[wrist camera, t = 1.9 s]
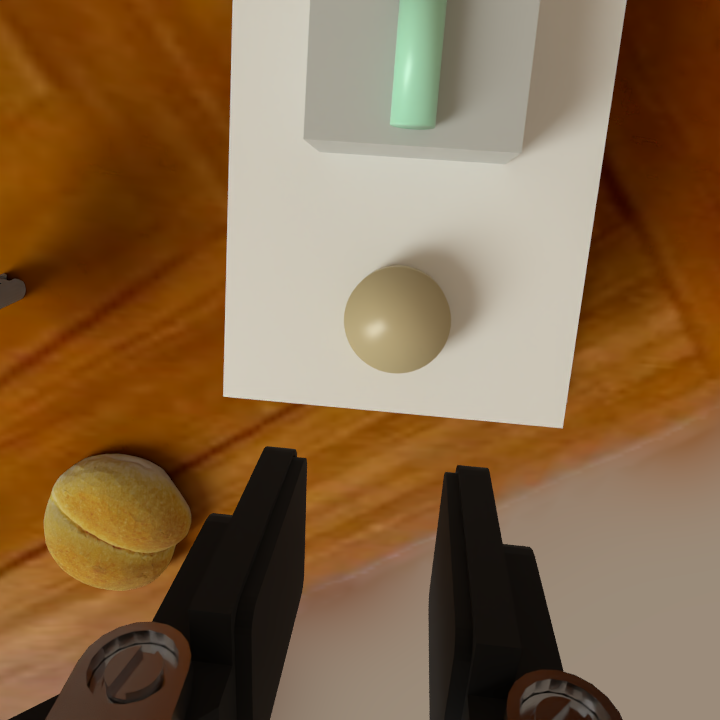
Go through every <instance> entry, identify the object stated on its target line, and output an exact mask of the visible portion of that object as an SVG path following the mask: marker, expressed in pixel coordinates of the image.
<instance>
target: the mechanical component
mask: <svg viewBox="0 0 720 720" xmlns="http://www.w3.org/2000/svg"><path fill="white" fill-rule="evenodd" d="M6 279H7V275H6V274H5V273H4V274H1V275H0V309H1V308H3V307H5V306H8V305H10V304H12V303H14V302H16V301H18V300H20V299H22V298H23V297H24V295H25V293H26V288H25V284H24V282H23V281H21V280H19V279H12V280H10V281H8V280H6Z"/></svg>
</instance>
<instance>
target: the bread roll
mask: <svg viewBox="0 0 720 720" xmlns="http://www.w3.org/2000/svg"><path fill="white" fill-rule="evenodd" d="M190 525H191V512H190V508H189V506H188V504H187V503H186V501H185V499H184V498H183V496H182V495H181V493H180V492H179V490H178V489H177V487H176V486H175V485H174V483H173V482H172V480H171V479H170V477H169V476H168V475H167V473H166V472H165V471H164V470H163V469H162V468H160V467H159V466H157V465H155V464H154V463H152V462H150V461H148V460H145V459H142V458H139V457H135V456H130V455H126V454H102V455H96V456H91V457H88V458H86V459H84V460H81V461H80V462H78V463H77V464H75V465H74V466H72V467H71V468H70V469H68V470H67V471H66V472H64V473H63V474H62V475H61V476H60V477H59V479H58V480H57V482H56V483H55V485H54V487H53V489H52V493H51V496H50V499H49V501H48V504H47V508H46V511H45V518H44V531H45V538H46V545H47V547H48V549H49V552H50V553H51V555H52V556H53V558H54V559H55V561H56V562H57V564H58V565H59V566H60V567H61V569H62V570H64V571H65V572H66V573H68V574H69V575H71V576H72V577H74V578H75V579H77V580H79V581H81V582H82V583H85V584H88V585H90V586H93V587H96V588H102V589H108V590H117V591H123V590H130V589H135V588H139V587H142V586H145V585H147V584H149V583H151V582H152V581H154V580H155V579H156V578H157V577H159V576H160V575H161V573H162V572H163V571H164V570H165V569H166V568H167V566H168V564H169V563H170V561H171V558H172V556H173V553H174V549H175V546H176V544H177V543H179V542H180V541H181V540H183V539H184V538H185V537H186V535H187V534H188V532H189V528H190Z"/></svg>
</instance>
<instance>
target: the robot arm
mask: <svg viewBox="0 0 720 720" xmlns="http://www.w3.org/2000/svg"><path fill="white" fill-rule="evenodd" d="M306 482H307V459H306V458H299V457H297V452H296V449H288V448H278V447H268V446H267V447H265V448H264V450H263V452H262V454H261V456H260V458H259V460H258V463H257V465H256V467H255V469H254V471H253V473H252V475H251V477H250V480H249V482H248V484H247V486H246V488H245V490H244V492H243V494H242V497H241V499H240V501H239V503H238V505H237V507H236V509H235V511H234V513H233V515H225V514H216V513H212V514H211V515H209V517H208V518H207V519H206V521H205V523H204V525H203V527H202V529H201V530H200V532H199V534H198V536H197V538H196V540H195V542H194V544H193V546H192V547H191V549H190V551H189V553H188V555H187V557H186V559H185V561H184V562H183V564H182V566H181V568H180V570H179V572H178V574H177V576H176V578H175V579H174V581H173V583H172V585H171V587H170V589H169V591H168V593H167V594H166V596H165V598H164V600H163V602H162V604H161V606H160V608H159V610H158V611H157V613H156V615H155V617H154V619H153V621H152V622H136V623H133V624H129V625H125V626H122V627H119V628H117V629H115V630H113V631H111V632H109V633H107V634H105V635H103V636H102V637H100V638H99V639H98V640H97V641H95V642H94V643H93V644H92V645H90V646H89V647H88V649H87V650H86V651H85V653H84V654H83V655H82V656H81V658H80V659H79V660H78V662H77V664H76V666H75V667H74V669H73V671H72V673H71V675H70V676H69V678H68V680H67V682H66V684H65V685H64V687H63V689H62V691H61V692H60V694H59V695H57V696H55V697H53V698H51V699H49V700H47V701H45V702H43V703H41V704H39V705H37V706H35V707H33V708H31V709H29V710H27V711H25V712H23V713H21V714H19V715H17V716H15V717H13V718H11V719H9V720H270V717H271V713H272V709H273V705H274V701H275V697H276V693H277V689H278V685H279V681H280V677H281V673H282V670H283V666H284V662H285V658H286V654H287V649H288V646H289V642H290V638H291V634H292V630H293V626H294V622H295V618H296V614H297V610H298V606H299V602H300V598H301V594H302V588H303V581H304V559H305V520H306ZM429 689H430V690H429V693H430V695H429V697H430V720H623V719H622V717H621V715H620V713H619V711H618V710H617V709H616V707H615V706H614V705H613V703H612V702H611V701H610V700H609V698H608V697H607V696H606V695H605V694H603V693H602V692H601V691H600V690H599V689H597V688H596V687H595V686H594V685H593V684H591V683H589V682H587V681H585V680H583V679H582V678H579V677H578V676H576V675H573V674H570V673H566V672H563V668H562V663H561V659H560V656H559V652H558V647H557V644H556V639H555V635H554V632H553V627H552V624H551V619H550V615H549V612H548V608H547V604H546V600H545V596H544V591H543V587H542V583H541V580H540V575H539V571H538V567H537V563H536V559H535V556H534V553H533V550H532V549H531V548H530V547H525V546H516V545H507V544H503V543H502V538H501V532H500V527H499V522H498V516H497V511H496V505H495V500H494V494H493V489H492V483H491V478H490V472H489V469H488V468H481V467H471V466H461V465H457V468H456V473H450V472H445V474H444V480H443V488H442V496H441V504H440V512H439V520H438V528H437V536H436V544H435V551H434V559H433V567H432V575H431V583H430V592H429Z"/></svg>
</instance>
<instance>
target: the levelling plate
mask: <svg viewBox="0 0 720 720" xmlns="http://www.w3.org/2000/svg"><path fill="white" fill-rule="evenodd" d="M626 1H627V0H233V12H232V54H231V95H230V137H229V179H228V221H227V263H226V304H225V346H224V388H223V397H234V398H245V399H256V400H266V401H277V402H288V403H298V404H309V405H320V406H331V407H341V408H352V409H363V410H373V411H384V412H395V413H406V414H416V415H427V416H438V417H449V418H459V419H470V420H481V421H491V422H502V423H513V424H524V425H534V426H545V427H556V428H563V422H564V416H565V409H566V402H567V396H568V389H569V382H570V376H571V369H572V362H573V356H574V349H575V342H576V336H577V329H578V322H579V315H580V309H581V302H582V295H583V289H584V282H585V275H586V269H587V262H588V255H589V249H590V242H591V235H592V229H593V222H594V215H595V209H596V202H597V195H598V189H599V182H600V175H601V168H602V162H603V155H604V148H605V142H606V135H607V128H608V122H609V115H610V108H611V102H612V95H613V88H614V82H615V75H616V68H617V62H618V55H619V48H620V42H621V35H622V28H623V21H624V15H625V8H626Z"/></svg>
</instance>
